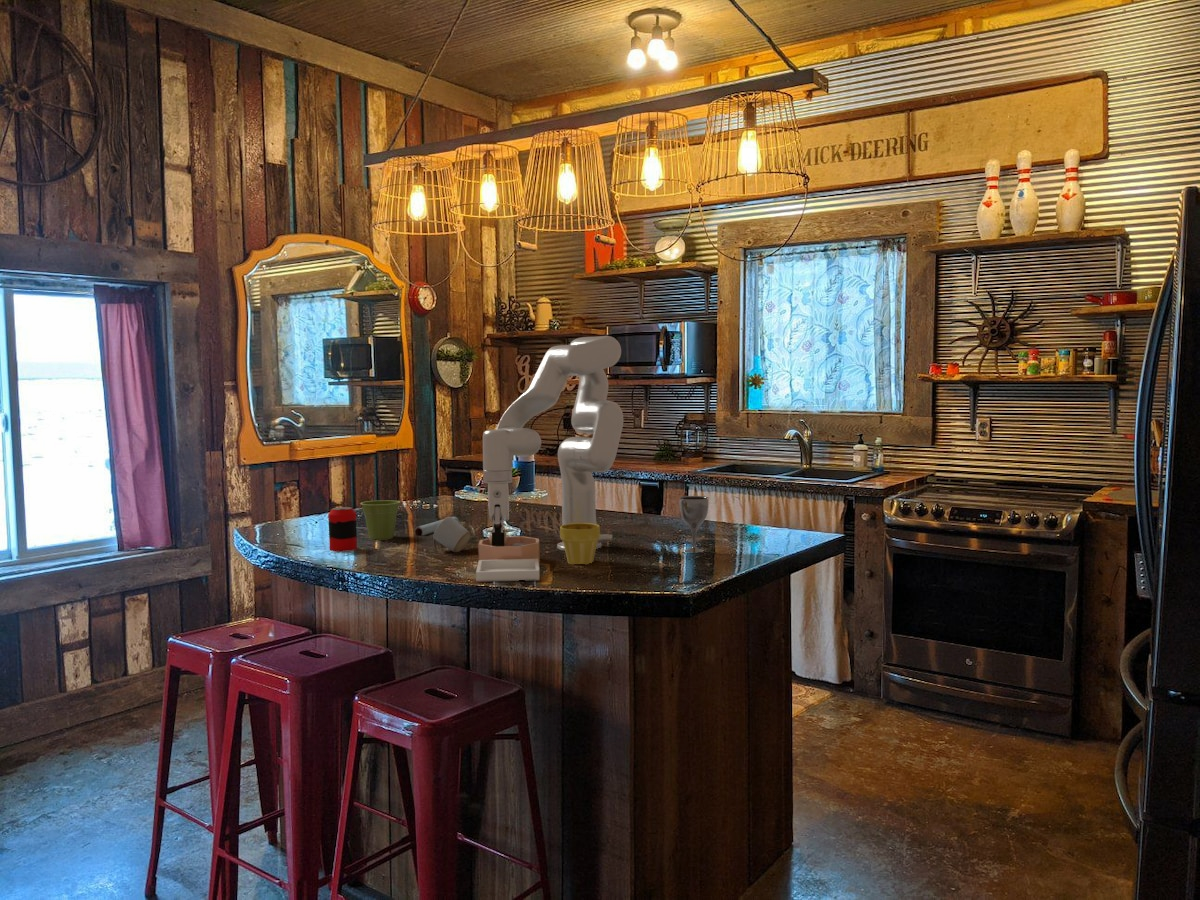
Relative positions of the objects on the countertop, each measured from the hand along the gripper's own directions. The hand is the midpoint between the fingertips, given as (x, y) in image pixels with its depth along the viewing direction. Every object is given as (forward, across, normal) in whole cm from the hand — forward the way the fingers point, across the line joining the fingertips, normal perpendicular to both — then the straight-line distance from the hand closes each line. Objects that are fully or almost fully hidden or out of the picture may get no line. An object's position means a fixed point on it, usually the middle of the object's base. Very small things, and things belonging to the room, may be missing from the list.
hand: (498, 545), depth 247 cm
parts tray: (+5, -16, -3) cm, 17 cm away
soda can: (+5, +25, +45) cm, 51 cm away
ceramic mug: (+5, +19, +13) cm, 23 cm away
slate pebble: (+4, 0, -5) cm, 7 cm away
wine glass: (+4, +8, -53) cm, 54 cm away
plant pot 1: (+5, +43, +37) cm, 57 cm away
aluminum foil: (+5, +57, +22) cm, 61 cm away
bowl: (+5, 0, -3) cm, 5 cm away
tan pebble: (+1, 0, 0) cm, 1 cm away
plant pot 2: (+5, -3, -21) cm, 22 cm away
